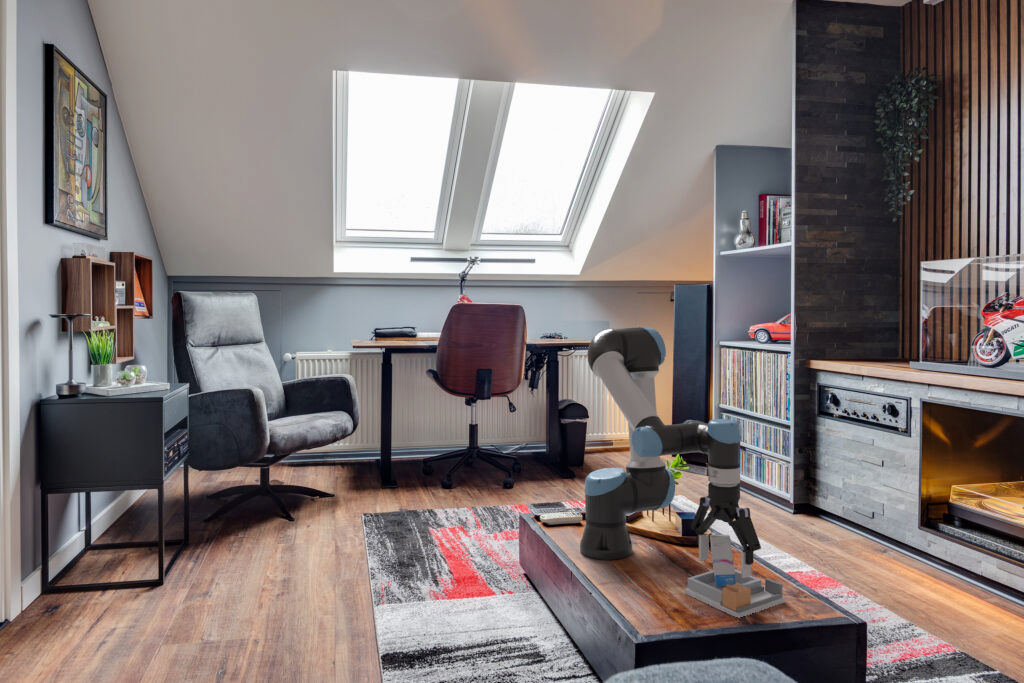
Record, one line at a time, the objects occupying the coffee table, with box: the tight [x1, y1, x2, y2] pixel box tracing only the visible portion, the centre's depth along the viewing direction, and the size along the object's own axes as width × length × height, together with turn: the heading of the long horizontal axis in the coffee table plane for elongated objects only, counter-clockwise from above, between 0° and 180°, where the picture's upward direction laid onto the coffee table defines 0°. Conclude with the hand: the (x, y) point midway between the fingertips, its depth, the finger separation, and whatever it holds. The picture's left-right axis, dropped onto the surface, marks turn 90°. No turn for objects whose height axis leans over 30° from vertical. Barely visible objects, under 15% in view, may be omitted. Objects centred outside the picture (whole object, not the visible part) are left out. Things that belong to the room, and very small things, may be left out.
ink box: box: [709, 534, 736, 587], centre depth 179 cm, size 9×5×12 cm, turn 166°
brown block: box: [722, 583, 751, 611], centre depth 168 cm, size 4×5×5 cm
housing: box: [684, 568, 786, 619], centre depth 175 cm, size 17×16×4 cm
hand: (724, 568), depth 178 cm, fingers open, 13 cm apart
